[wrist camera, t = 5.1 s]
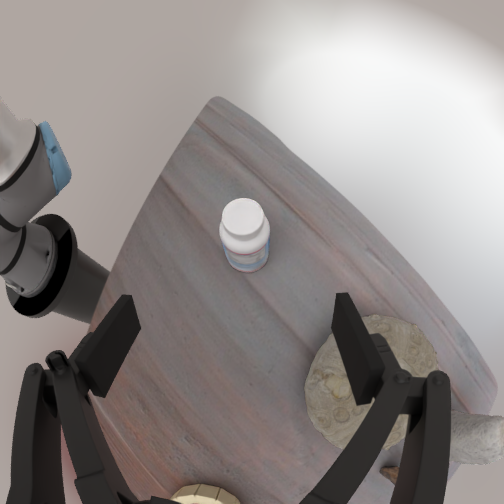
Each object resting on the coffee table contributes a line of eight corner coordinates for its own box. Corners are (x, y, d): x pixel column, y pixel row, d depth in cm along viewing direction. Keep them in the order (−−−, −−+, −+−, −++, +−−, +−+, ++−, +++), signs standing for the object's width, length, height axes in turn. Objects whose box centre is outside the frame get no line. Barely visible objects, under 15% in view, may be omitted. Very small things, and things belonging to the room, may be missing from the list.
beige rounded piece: (308, 455, 28) (323, 483, 19) (290, 335, 35) (300, 325, 26) (421, 417, 29) (460, 426, 20) (404, 309, 36) (440, 291, 26)
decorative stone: (462, 437, 26) (521, 448, 12) (439, 464, 24) (496, 485, 11) (438, 402, 29) (503, 407, 15) (413, 431, 28) (475, 450, 14)
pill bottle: (237, 229, 41) (229, 185, 31) (275, 244, 40) (279, 202, 30) (219, 264, 39) (205, 228, 29) (258, 280, 38) (257, 248, 28)
